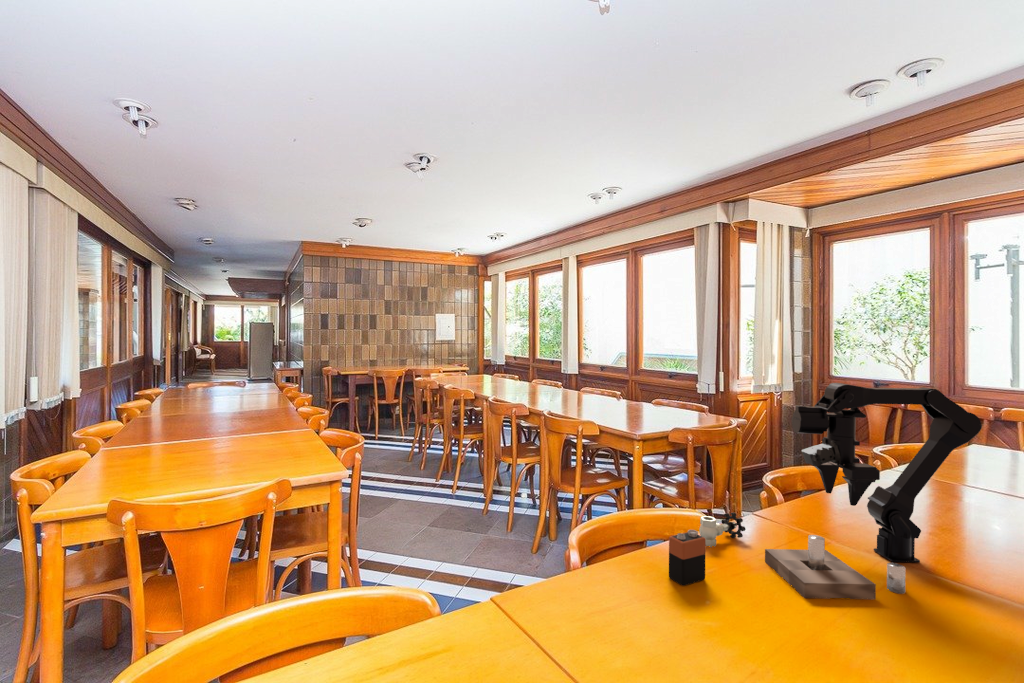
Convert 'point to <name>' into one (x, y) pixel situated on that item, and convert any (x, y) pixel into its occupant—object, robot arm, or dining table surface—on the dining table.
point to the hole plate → (820, 575)
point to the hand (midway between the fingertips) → (840, 499)
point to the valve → (719, 528)
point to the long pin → (816, 552)
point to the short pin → (896, 578)
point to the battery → (687, 557)
